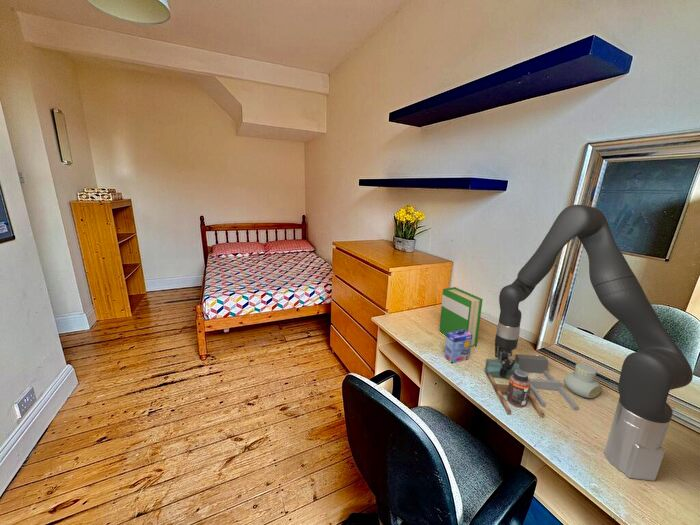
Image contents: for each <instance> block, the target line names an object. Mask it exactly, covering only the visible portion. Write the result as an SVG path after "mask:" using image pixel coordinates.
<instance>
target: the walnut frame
mask: <svg viewBox="0 0 700 525" xmlns="http://www.w3.org/2000/svg"><path fill="white" fill-rule="evenodd" d="M504 364H505V363H504ZM500 368H501V362H500V360H497V358H496V359H494V358H486V361H485V367H484V371H483V372H484V374H485V375H486V377H487V379H488V381H489V382H490V384H491V386H492V388H493V390H494V392H495V393H496V395H497V398H498V399H499V401H500V403H501V405H502V408H504V411H505V412H506V414H507V415H511V414H512V409H511V407H510V406H509V404H508V402H507V400H506V399H505V397H504V396H507V394H508V387H509V384H501V383H496V381H495V379H494V378H501V379H510V377H511V376H512V375H514V372H515V370H519V364H518V363H517V362H516V361H515V364H514V365H513V367H512V369H511V370H507V374H506V377H501V376H500ZM527 401H529V403H530V404H531V406H532V407H533V408H534V410H535V412H536V413H537V415H538V417H540V418H544V417H545V412H544V411H543V410H542V408H541V407H540V404H539V403H537V401H536V400H535V397H534V396H533V394H532V393H531V389H530V388H529V393H528V399H527Z"/></svg>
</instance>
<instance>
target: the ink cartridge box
mask: <svg viewBox="0 0 700 525" xmlns="http://www.w3.org/2000/svg"><path fill="white" fill-rule="evenodd" d="M471 342H472V334H471V333H469V332H468V331H466V329H462V330H458V331H452V332H448V333H447V336H446V337H445V347H444V355H443V356H445V357H446V358H447V359H448V360H449V361H451V362H455V363H457V362H456V361H459V362H461V361H460V360H463V361H467V360H469V358H470V353H471V347H472V346H471ZM445 357H444V358H445ZM446 358H445V359H446ZM447 359H446V360H447ZM466 359H467V360H466ZM448 360H447V361H448ZM449 361H448V362H449Z"/></svg>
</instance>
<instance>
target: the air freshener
mask: <svg viewBox="0 0 700 525" xmlns="http://www.w3.org/2000/svg"><path fill="white" fill-rule="evenodd" d="M597 374H598V373H597V369H595V368H594V367H593V366H592V365H589V364H586V363H576V364H575V366H574V371H573V372H569V373H568V374H567V375H565V377H564V378H563V383H564V384H563V385H565V387H566V388H567V389H568V390H569V391H570V392H572V393H573V394H574V395H577V396H580V397H582V398H587V399H593V398H595V397H597V396H598V395H600V394H601V392H602V390H603V389H602V388H603V387H602V386H601V384H600V383H599V382H598V380H596V377H597Z"/></svg>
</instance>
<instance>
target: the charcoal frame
mask: <svg viewBox="0 0 700 525" xmlns="http://www.w3.org/2000/svg"><path fill="white" fill-rule="evenodd" d="M514 360H515V361H516V362H517V363H518V364H519V370H522V371H524V372H526V373H532V374H533V373H535V374H543V375H544V376H545V377H546V378H547V379H543V378H531V377H528V380H529V381H530V389H531V391H530V393H531V394H532V396H533V397H534V399H536V400H537V402H538V404H539V406H541V407H543V408H545V407H546V404H547V402H546V401H545V400H544V399H543V397H542V395H541V394H540V393H539V392H538V391H537V389H539V390H550V391H557V392H559V394H560V395H561V397H563V398H564V400H565V401H566V402H567V403H568V405H569V406H570V407H571V409H573V410H574V411H576V410H577V411H578V408H579V405H578V404H577V403H576V402H575V401H574V400H573V398H572V397H571V396H570V395H569V393H567V392H566V391H565V389H564V388H563V387H562V385H563V383H562V382H561V381H560V380H558V379H557V380H556V379H555V378H554V377H553V376H552V375H551V373H550V372H549V371H547V370H548V364H549V359H548V358H547V357H546V356H545V355H533V354H531V355H530V354H521V353H520V354H518V353H516V354H515V356H514Z"/></svg>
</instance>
